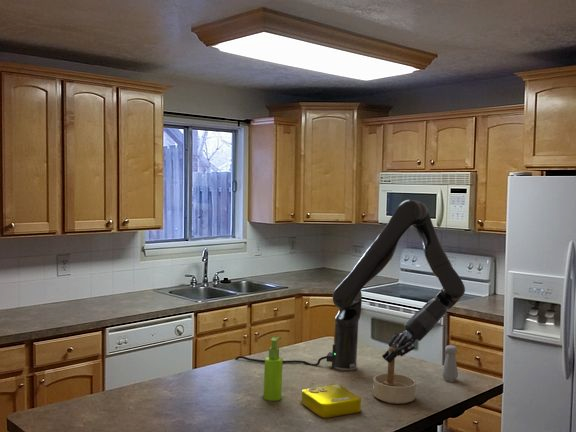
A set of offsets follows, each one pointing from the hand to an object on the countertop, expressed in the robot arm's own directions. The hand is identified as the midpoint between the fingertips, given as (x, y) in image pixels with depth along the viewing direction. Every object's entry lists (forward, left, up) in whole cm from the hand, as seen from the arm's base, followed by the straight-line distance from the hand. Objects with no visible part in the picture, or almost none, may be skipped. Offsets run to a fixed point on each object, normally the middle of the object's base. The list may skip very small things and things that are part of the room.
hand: (385, 359), depth 200 cm
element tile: (-16, -15, -13) cm, 26 cm away
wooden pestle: (+2, +1, -11) cm, 11 cm away
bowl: (+3, +1, -13) cm, 13 cm away
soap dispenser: (-36, -13, -13) cm, 40 cm away
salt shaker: (+22, +27, -13) cm, 37 cm away
